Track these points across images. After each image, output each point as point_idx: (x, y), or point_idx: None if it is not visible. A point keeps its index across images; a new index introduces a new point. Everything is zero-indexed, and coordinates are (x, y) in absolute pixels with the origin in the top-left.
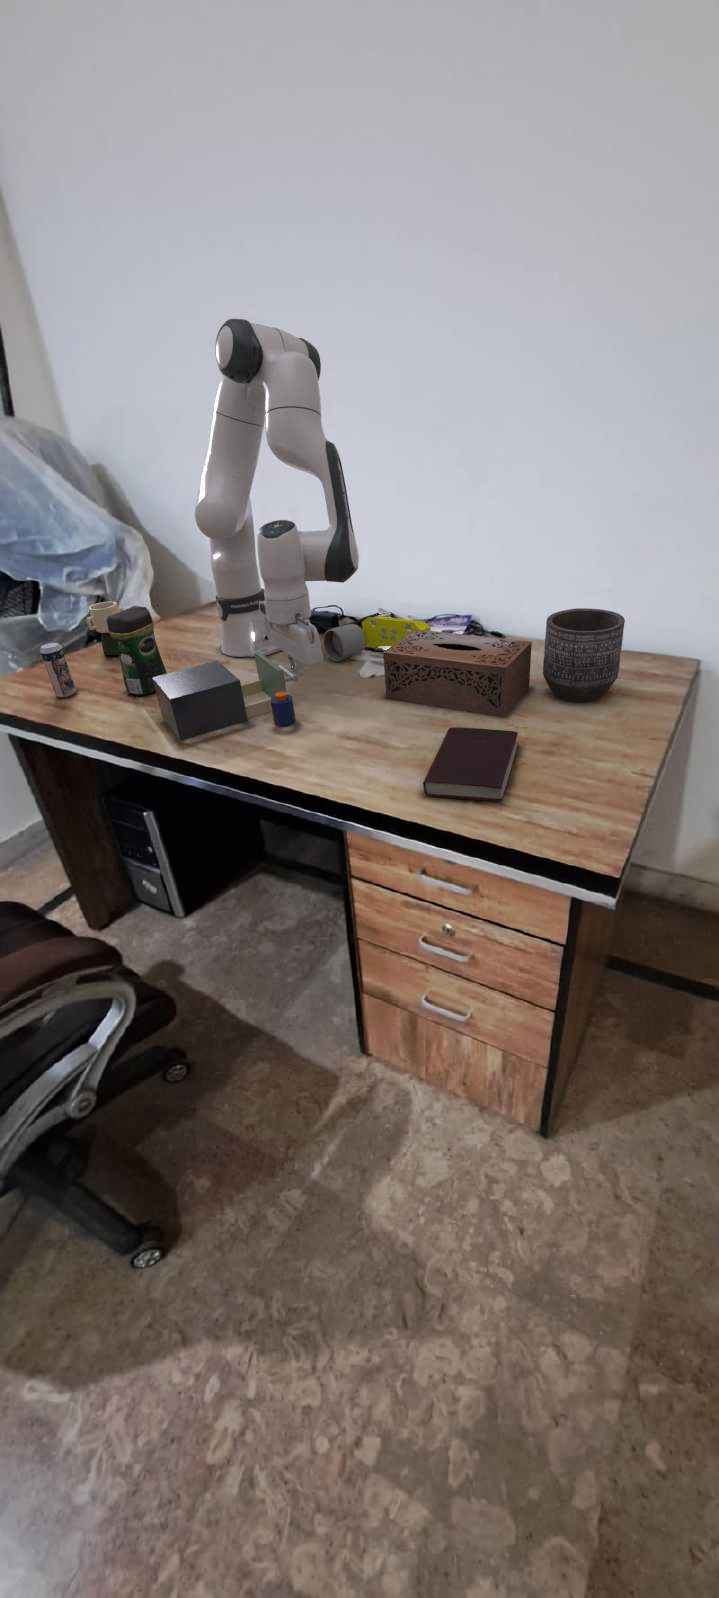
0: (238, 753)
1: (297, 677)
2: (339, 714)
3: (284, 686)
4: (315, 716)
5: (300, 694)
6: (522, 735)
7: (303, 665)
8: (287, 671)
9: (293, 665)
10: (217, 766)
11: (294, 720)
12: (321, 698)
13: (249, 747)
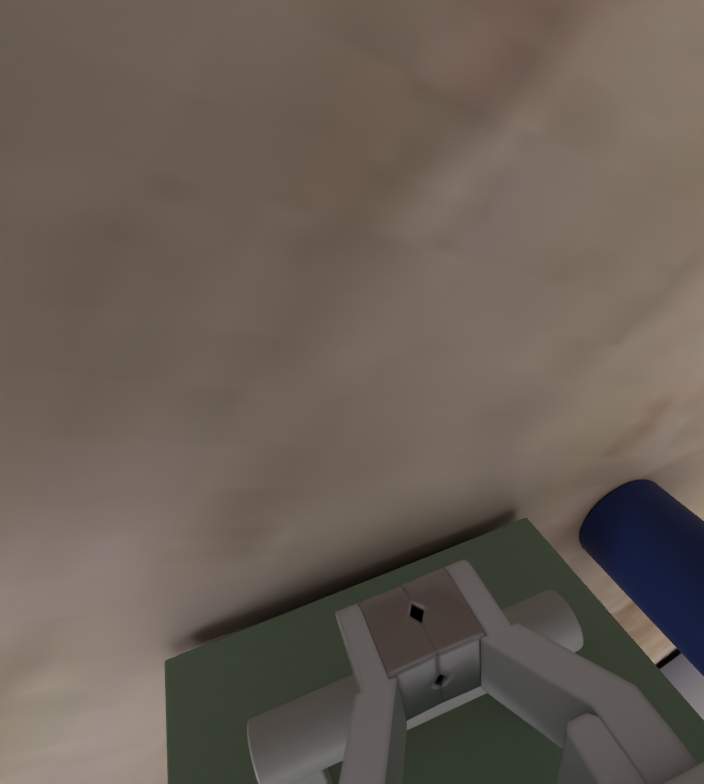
0: (643, 627)
1: (570, 612)
2: (698, 263)
3: (648, 662)
4: (618, 394)
5: (279, 456)
6: None
7: (539, 639)
8: (453, 707)
9: (409, 708)
10: (659, 656)
11: (692, 512)
12: (429, 326)
13: (637, 608)
